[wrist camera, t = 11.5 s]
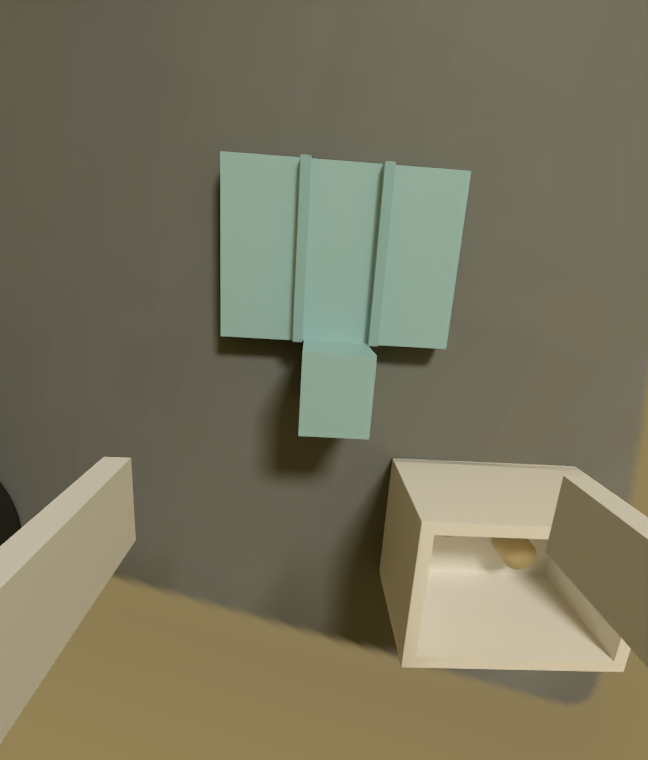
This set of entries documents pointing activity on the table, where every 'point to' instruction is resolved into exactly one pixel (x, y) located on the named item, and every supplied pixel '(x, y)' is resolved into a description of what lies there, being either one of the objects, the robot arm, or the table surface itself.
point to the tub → (485, 571)
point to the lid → (338, 269)
